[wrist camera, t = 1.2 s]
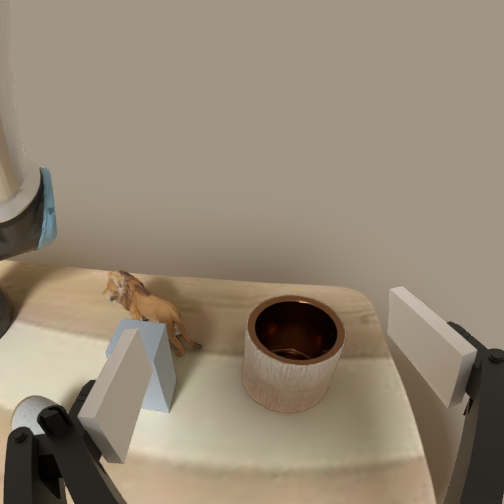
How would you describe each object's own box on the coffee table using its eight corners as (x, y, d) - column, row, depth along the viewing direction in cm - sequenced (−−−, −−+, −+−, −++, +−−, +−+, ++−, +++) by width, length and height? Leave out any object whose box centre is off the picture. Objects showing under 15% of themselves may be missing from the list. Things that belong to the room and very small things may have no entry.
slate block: (169, 412, 32) (153, 360, 27) (129, 405, 32) (105, 352, 27) (176, 379, 36) (165, 323, 31) (139, 374, 36) (121, 318, 31)
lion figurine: (108, 327, 43) (93, 279, 38) (128, 306, 47) (117, 259, 42) (194, 363, 39) (188, 313, 34) (211, 336, 43) (208, 286, 38)
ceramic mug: (58, 412, 29) (31, 376, 25) (109, 444, 27) (84, 412, 23) (15, 471, 20) (-23, 442, 16) (65, 512, 18) (27, 493, 14)
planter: (344, 383, 37) (366, 332, 32) (280, 431, 31) (293, 385, 26) (289, 336, 44) (298, 282, 39) (225, 370, 38) (224, 317, 33)
